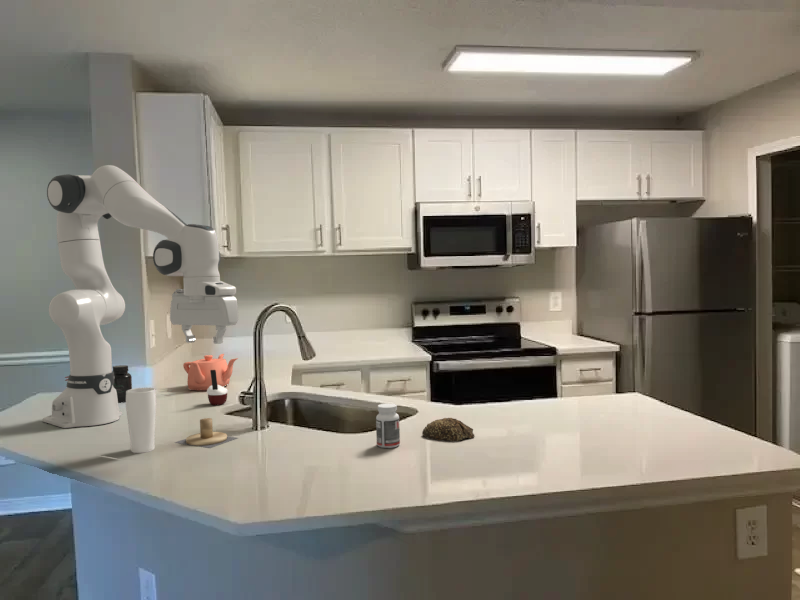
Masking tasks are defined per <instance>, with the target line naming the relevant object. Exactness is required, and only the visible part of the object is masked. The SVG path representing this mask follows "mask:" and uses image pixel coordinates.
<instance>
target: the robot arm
mask: <svg viewBox="0 0 800 600" xmlns="http://www.w3.org/2000/svg"><path fill="white" fill-rule="evenodd" d="M46 197H47V201H48V203H49V205H50V206H51V207H52V208H53V209H54V210H55V211H57V213H56V238H57V245H58V254H59V259H60V265H61V266H60V267H61V270H62V272H63V273H64V274H65V275H66V276H67V277H68V278H69V279H70V280H71V282H72V283H73V285H74V287H75V289H69V290H65V291H63V292H61V293H57V294H56V295H55V296H54V297H53V298H52V299H51V300H50V303H49V306H48V315H49V317H50V319H51V321H52V322H53V323H54V324H55V325H56V326H58V327H59V329H60V330H61V332H62V334H63V336H64V338H65V341H66V344H67V348H68V357H69V371H70V372H69V373H70V374H69V375H68V376H65V377H64V379H65V380H64V381H66V386H65V387H66V388H65V389H64V390H63V391H62V392H61V393H60V394H59V395H58V396H56V397H55V399H53V401H52V403H51V414H50V415H47V416H44V417H43V419H42V422H43V423H48V424H49V425H53V426H56V427H59V428H62V429H67V428H69V429H70V428H75V427H77V428H78V427H88V426H89V427H90V426H98V425H99V426H100V425H104V424H109V423H112V422H116V421H118V420H120V418H121V416H122V415H123V412H122V411H121V410H120V408H119V403H118V399H117V392H116V389H115V388H114V387H113V384H114V372H113V363H112V361H113V359H112V358H113V357H112V355H113V354H112V347H111V344H110V343H109V342H108V341H107V340H106V339H105V338H104V335H103V333H102V330H101V326H104V325H109V324H110V323H113V322H115V321H117V320H119V319H120V318H122V316H123V315H124V312H125V310H126V302H125V300H124V297H123V295H122V294H121V293H119V292H118V291H117V290H116V288H115V287H114V286H113V284H112V281H111V278H110V277H109V275H108V273H107V269H106V266H105V262H104V257H103V251H102V246H101V239H100V231H99V228H98V223H99V220H100V219H101V217H102V218H103V219H106V220H109V219H110V218H113V219H114V220H116V221H117V222H118V223H120V224H122V225H124V226H127V227H129V228H135V229H141V230H146V231H151V232H154V233H156V234H157V233H158V234H160V235H162V236H164V237H166V239H161V240H160V241H159V242H158V243H157V244H156V245H155V247H154V249H153V252H152V261H153V265H154V267H155V269H156V270H157V271H158V272H159V274H160V275H164V276H168V277H183V288H177V289H175V290H174V292H173V293H172V295H171V296H172V297H171V298H172V299H171V301H170V312H169V321H170V323H171V324H172V325H174V326H175V325H177V326H180V325H181V330H182V333H183V334H184V336H185V343H187V344H188V343H189V344H190V343H195V342H196V335H194V334H193V332H192V330H191V329H192V328H193V326H215V330H216V335H215V336H213V338H212V342H213V344H215V345H216V344H217V345H219V344H223V342H224V341H223V340H224V339H223V336H224V335H225V334H226V333H225V332H226V331H227V327H228V326H235V325H236V324H238V321H239V306H238V304H239V303H238V301H237V298H236V296H235V295H236V294H237V287H236V286H234V285H232V284H229V283H227V282H225V281H222V280H221V276H220V271H219V268H220V264H221V259H222V257H221V252H220V247H219V246H220V245H219V237H218V235H217V234H218V233H217V231H216V230H215V228H213V227H212V226H210V225H204V224H197V223H196V224H195V223H189V224H187V223H185V222H184V221H183V220H182V219H181V218H180V217H179V216H178V215H176V214H175V213H174V212H172V211H171V210H170V209H168V207H166V206H164V205H163V204H161V202H159V201H157V199H155V198H154V197H153V196H152V195H151V194H150V193H148V191H146V190H145V189H144V188H143V187H142V186H141V185H140V184H139V183H138V182H137V181H136V180H135V179H134V178H133V177H132V176H131V175H130V174H129V173H127V172H126V171H124V170H123V169H121V168H120V167H118V166H116V165H113V164H108V165H107V164H105V165H101V166H99V167H98V168H97V169H95V170H94V172H93V173H92V174H87V175H86V174H85V175H83V174H80V175H79V174H70V173H69V174H68V173H67V174H61V175H60V174H59V175H56V176H54V177H53V178H51V180H50V181H49V183H48V185H47V188H46Z"/></svg>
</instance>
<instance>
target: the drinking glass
mask: <svg viewBox="0 0 800 600" xmlns="http://www.w3.org/2000/svg"><path fill="white" fill-rule="evenodd" d="M125 408H126V409H125V410H126V419H127V425H128V434H129V441H130V442H129V443H130V452H131V453H134V454H143V453H149V452H152V451H154V450H155V444H156V443H155V439H156V438H155V436H156V435H155V433H156V418H157V391H156V388H154V387H138V388H132V389H130V390H127V391H126V402H125Z"/></svg>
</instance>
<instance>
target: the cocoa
mask: <svg viewBox="0 0 800 600" xmlns="http://www.w3.org/2000/svg"><path fill="white" fill-rule="evenodd" d="M210 372H211V380H212V385H211V386H209V388H208V389H207V390H206V393H207V400H208V401H209V404H210V405H212V406H222V404H223V405H224V404H225V403H226V402H227V399H228V388H226V387H222V386H220V385H217V377H216V370H210Z"/></svg>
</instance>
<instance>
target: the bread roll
mask: <svg viewBox="0 0 800 600" xmlns="http://www.w3.org/2000/svg"><path fill="white" fill-rule="evenodd" d="M473 431H474V429H473V428H472V427H471V426H468V425H467V424H465V423H464V422H462V421H461V420H458V419H457V418H454V417H444V418H443V417H442V418H441V419H435V420H433V421H431V422H430V423H429V422H428V423H427V425H426V426H425V427H424V428H423V430H422V431H421V434H422V436H423V437H425V438H426V439H430V440H435V441H440V442H441V441H442V442H443V441H446V442H455V443H456V442H460V441H463V440H465V439H469V440H472V439H475V434H474V432H473Z"/></svg>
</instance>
